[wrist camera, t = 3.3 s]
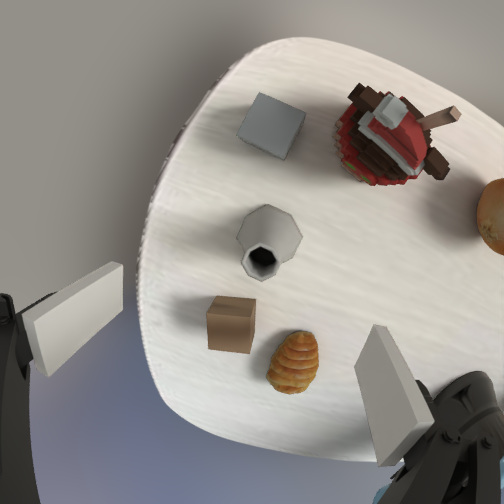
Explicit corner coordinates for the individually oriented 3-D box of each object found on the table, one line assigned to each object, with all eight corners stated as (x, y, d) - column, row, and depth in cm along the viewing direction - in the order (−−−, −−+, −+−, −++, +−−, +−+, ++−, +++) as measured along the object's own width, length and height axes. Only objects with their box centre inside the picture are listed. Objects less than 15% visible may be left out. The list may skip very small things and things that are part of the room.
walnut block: (254, 332, 36) (249, 353, 31) (217, 328, 37) (208, 349, 32) (255, 298, 35) (250, 317, 30) (217, 295, 35) (206, 313, 31)
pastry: (278, 323, 35) (277, 339, 32) (328, 331, 35) (332, 347, 31) (265, 375, 38) (263, 393, 34) (309, 382, 38) (310, 400, 34)
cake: (423, 146, 27) (525, 132, 10) (382, 203, 30) (471, 234, 12) (357, 87, 26) (416, 11, 9) (312, 143, 29) (340, 101, 12)
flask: (226, 237, 33) (200, 263, 24) (267, 192, 31) (257, 199, 22) (271, 278, 34) (263, 317, 24) (313, 236, 32) (323, 261, 22)
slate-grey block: (284, 160, 30) (283, 157, 25) (244, 141, 30) (236, 135, 25) (303, 122, 29) (306, 113, 24) (263, 104, 29) (259, 92, 24)
